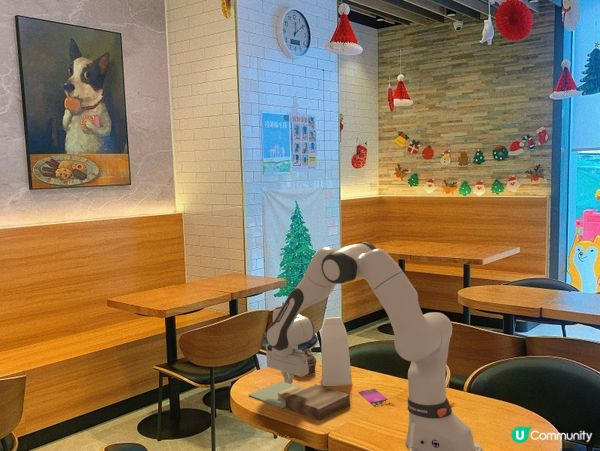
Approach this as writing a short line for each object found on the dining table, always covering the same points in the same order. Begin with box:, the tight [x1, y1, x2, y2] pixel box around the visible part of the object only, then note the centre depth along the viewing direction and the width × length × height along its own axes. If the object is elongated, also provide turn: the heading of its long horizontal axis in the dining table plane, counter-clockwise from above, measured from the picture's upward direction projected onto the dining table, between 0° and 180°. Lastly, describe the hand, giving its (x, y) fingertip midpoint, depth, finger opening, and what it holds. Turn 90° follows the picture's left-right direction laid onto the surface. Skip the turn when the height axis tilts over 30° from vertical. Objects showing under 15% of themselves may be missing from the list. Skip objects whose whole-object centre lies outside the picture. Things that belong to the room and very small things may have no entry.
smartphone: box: [358, 388, 389, 407], centre depth 209 cm, size 7×15×1 cm, turn 17°
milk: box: [320, 316, 353, 387], centre depth 229 cm, size 12×12×26 cm
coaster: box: [278, 387, 302, 400], centre depth 213 cm, size 8×8×2 cm
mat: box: [248, 380, 306, 409], centre depth 218 cm, size 20×18×1 cm
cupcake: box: [298, 347, 318, 376], centre depth 241 cm, size 10×10×10 cm
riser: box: [285, 384, 351, 421], centre depth 204 cm, size 17×16×4 cm
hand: (288, 382), depth 215 cm, fingers closed
